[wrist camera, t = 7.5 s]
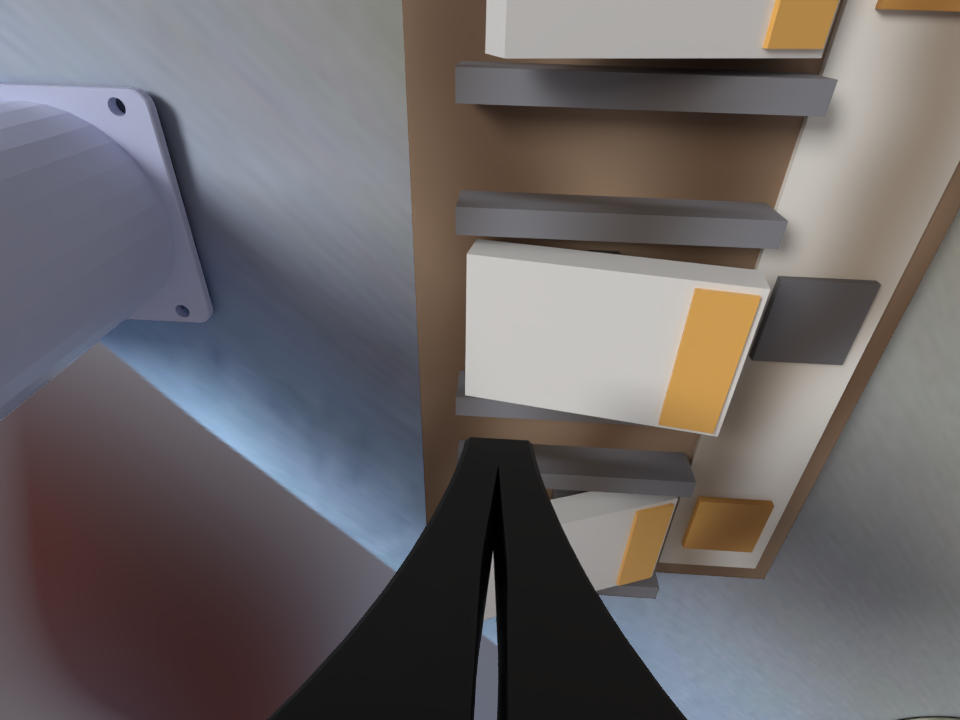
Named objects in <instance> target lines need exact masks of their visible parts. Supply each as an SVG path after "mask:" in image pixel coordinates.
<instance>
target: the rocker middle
mask: <svg viewBox="0 0 960 720" xmlns="http://www.w3.org/2000/svg"><path fill="white" fill-rule="evenodd" d="M770 290H771V289H770V287H769V285H768V283H767V281H766V279H765V277H764V275H763V273H762V271H761V270H752V269H743V268H734V267H725V266H716V265H707V264H698V263H689V262H680V261H671V260H662V259H653V258H644V257H635V256H626V255H617V254H608V253H599V252H590V251H581V250H572V249H563V248H554V247H545V246H536V245H527V244H518V243H509V242H500V241H491V240H482V239H476V241H475V242H474V244H473V245H472V247H471V248H470V250H469V251H468V253H467V272H466V359H465V395H467V396H473V397H479V398H485V399H491V400H497V401H503V402H509V403H515V404H521V405H527V406H533V407H540V408H546V409H552V410H558V411H564V412H570V413H576V414H582V415H588V416H594V417H600V418H606V419H612V420H618V421H625V422H631V423H637V424H643V425H649V426H655V427H661V428H667V429H673V430H679V431H685V432H691V433H697V434H704V435H710V436H716V437H718V435H719V432H720V429H721V426H722V423H723V421H724V418H725V415H726V412H727V409H728V407H729V404H730V401H731V398H732V396H733V393H734V390H735V387H736V384H737V382H738V379H739V376H740V373H741V371H742V368H743V365H744V362H745V359H746V357H747V354H748V351H749V348H750V345H751V343H752V340H753V337H754V334H755V332H756V329H757V326H758V323H759V320H760V318H761V315H762V312H763V309H764V306H765V304H766V301H767V298H768V295H769V293H770Z"/></svg>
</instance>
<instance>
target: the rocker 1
mask: <svg viewBox="0 0 960 720" xmlns="http://www.w3.org/2000/svg"><path fill="white" fill-rule="evenodd" d="M839 3H840V0H487V2H486V41H485V53H486V54H490V55H493V56H497V57H501V58H504V59H531V58H822V54H823V51H824V48H825V45H826V42H827V39H828V36H829V33H830V30H831V27H832V24H833V21H834V18H835V15H836V12H837V9H838V6H839Z"/></svg>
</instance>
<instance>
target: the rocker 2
mask: <svg viewBox="0 0 960 720" xmlns="http://www.w3.org/2000/svg"><path fill="white" fill-rule="evenodd" d="M677 500H678V498H677V497H676V496H660V495H643V494H627V493H610V492H593V491H590V492H585V493H580V494H576V495H571V496H566V497H561V498H557V499H552V500H550V501H551V503H552V505H553V508H554V510H555V512H556V515H557V517H558V519H559V521H560V524H561V526H562V528H563V530H564V532H565V534H566V536H567V539H568V541H569V543H570V545H571V547H572V548H573V550H574V552H575V554H576V556H577V558H578V560H579V562H580V564H581V566H582V568H583V569H584V571H585V573H586V575H587V577H588V578H589V580H590V582H591V584H592V585H593V587H594V589H595V590H596V591H598V590H602V589H605V588H609V587H613V586H617V585H618V586H620V585H624V584H628V583H632V582H636V581H640V580H643V579H647V578H651V577H652V575H653V572H654V569H655V566H656V563H657V560H658V557H659V554H660V551H661V548H662V545H663V542H664V539H665V536H666V533H667V530H668V527H669V524H670V521H671V518H672V515H673V512H674V509H675V506H676V503H677ZM494 617H496V600H495V579H494V558H493V556H492V563H491V570H490V577H489V584H488V591H487V598H486V606H485V613H484V620H486V619H490V618H494Z"/></svg>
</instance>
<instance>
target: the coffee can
mask: <svg viewBox="0 0 960 720" xmlns="http://www.w3.org/2000/svg"><path fill="white" fill-rule="evenodd" d="M906 720H960V718H947V717H930V718H929V717H924V718H914V719H906Z"/></svg>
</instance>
